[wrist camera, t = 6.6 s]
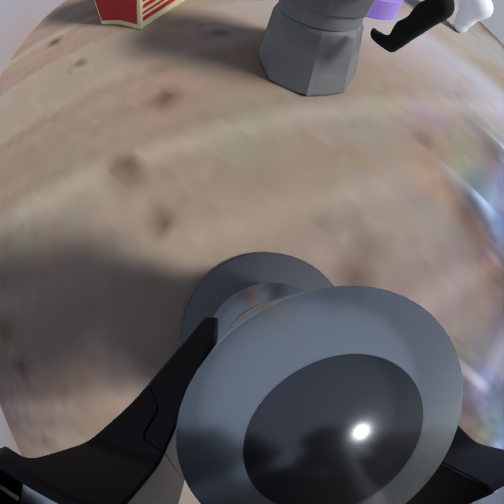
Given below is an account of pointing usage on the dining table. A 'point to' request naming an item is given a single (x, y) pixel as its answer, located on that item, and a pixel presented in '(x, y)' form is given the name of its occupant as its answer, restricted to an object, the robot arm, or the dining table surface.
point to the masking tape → (384, 9)
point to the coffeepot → (332, 40)
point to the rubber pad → (248, 282)
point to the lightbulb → (472, 13)
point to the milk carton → (133, 11)
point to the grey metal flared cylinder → (319, 399)
